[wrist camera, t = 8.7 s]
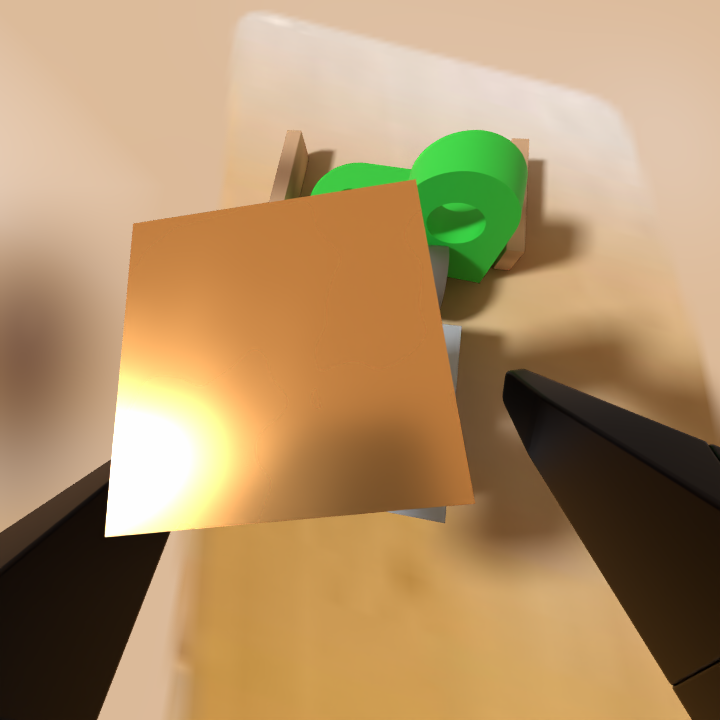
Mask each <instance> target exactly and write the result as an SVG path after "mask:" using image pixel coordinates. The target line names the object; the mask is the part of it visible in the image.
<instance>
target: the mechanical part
mask: <svg viewBox="0 0 720 720" xmlns="http://www.w3.org/2000/svg"><path fill="white" fill-rule="evenodd" d="M527 178H528V169H527V164H526V161H525V158H524V156H523V154H522V153H521V151H520V150H519V149H518V148H517V146H516V145H515V144H513V143H512V142H511V141H510V140H508V139H506V138H505V137H503V136H501V135H498V134H496V133H493V132H489V131H483V130H468V131H461V132H457V133H453V134H450V135H448V136H445V137H443V138H441V139H439V140H437V141H436V142H434V143H433V144H431V145H430V146H428V147H427V148H426V149H425V150H424V151H423V152H422V153H421V154H420V155H419V157H418V158H417V160H416V161H415V163H414V165H413V167H412V169H404V168H397V167H390V166H383V165H375V164H368V163H350V164H345V165H342V166H339V167H337V168H335V169H333V170H331V171H329V172H328V173H327V174H325V175H324V176H323V177H322V178H321V179H320V180H319V181H318V182H317V184H316V185H315V187H314V189H313V191H312V193H311V196H312V195H319V194H325V193H332V192H338V191H344V190H351V189H357V188H363V187H370V186H376V185H383V184H389V183H395V182H402V181H408V180H414V179H416V183H417V189H418V194H419V199H420V205H421V210H422V216H423V221H424V227H425V232H426V238H427V243H428V245H439V246H448V247H449V266H448V274H447V277H450V278H456V279H461V280H466V281H472V282H477V283H480V282H481V280H482V279H483V277H484V276H485V275H486V273H487V272H488V270H489V269H490V267H491V266H492V264H493V263H494V261H495V260H496V259H497V257H498V256H499V254H500V253H501V251H502V250H503V248H504V247H505V246H506V244H507V243H508V241H509V240H510V238H511V237H512V235H513V234H514V232H515V231H516V229H517V228H518V225H519V223H520V219H521V214H522V208H523V202H524V196H525V190H526V184H527Z"/></svg>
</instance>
